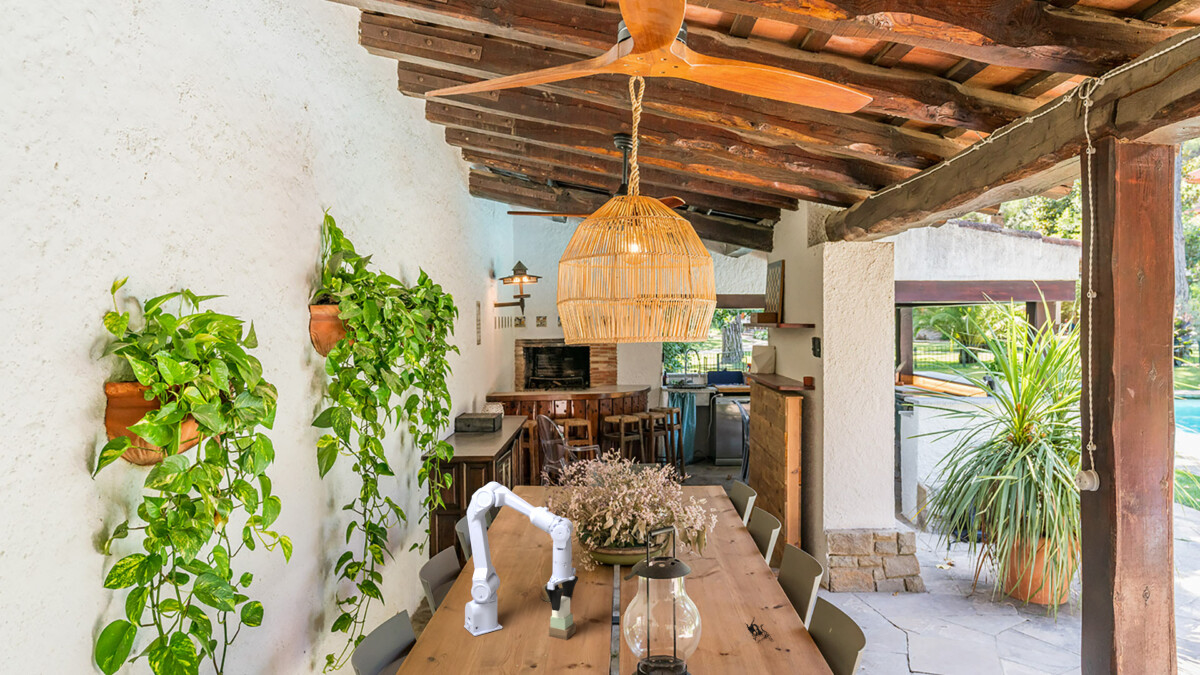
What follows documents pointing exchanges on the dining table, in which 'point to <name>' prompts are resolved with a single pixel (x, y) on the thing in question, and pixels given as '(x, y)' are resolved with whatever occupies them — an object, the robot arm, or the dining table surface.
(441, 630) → the dining table surface
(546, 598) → the brown rounded lump
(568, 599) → the white block
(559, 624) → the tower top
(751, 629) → the creature
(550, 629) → the tower base
